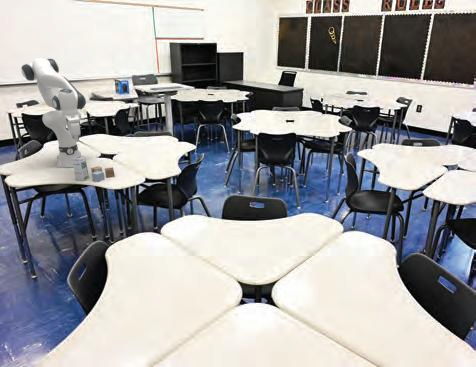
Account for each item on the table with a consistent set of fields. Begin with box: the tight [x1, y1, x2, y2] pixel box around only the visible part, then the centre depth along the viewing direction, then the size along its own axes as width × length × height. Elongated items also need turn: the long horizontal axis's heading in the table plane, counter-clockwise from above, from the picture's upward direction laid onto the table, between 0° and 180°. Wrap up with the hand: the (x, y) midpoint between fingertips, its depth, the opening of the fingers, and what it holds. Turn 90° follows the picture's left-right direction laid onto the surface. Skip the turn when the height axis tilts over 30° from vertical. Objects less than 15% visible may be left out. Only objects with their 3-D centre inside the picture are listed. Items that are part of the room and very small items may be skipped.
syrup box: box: [72, 155, 90, 182], centre depth 220 cm, size 6×6×14 cm
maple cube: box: [90, 165, 104, 173], centre depth 229 cm, size 5×5×5 cm
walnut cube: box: [104, 167, 116, 179], centre depth 226 cm, size 5×5×5 cm
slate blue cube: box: [91, 171, 105, 183], centre depth 220 cm, size 5×5×5 cm
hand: (75, 140), depth 214 cm, fingers open, 8 cm apart
